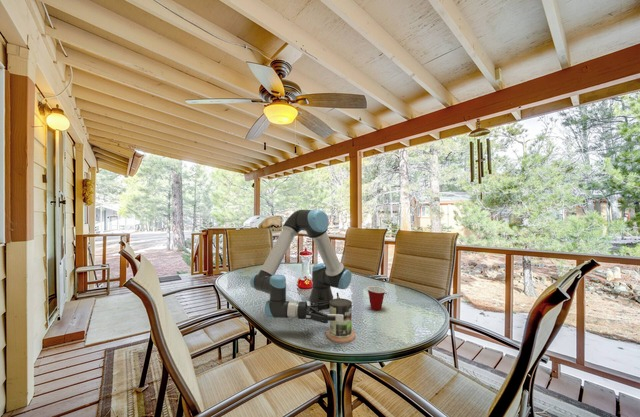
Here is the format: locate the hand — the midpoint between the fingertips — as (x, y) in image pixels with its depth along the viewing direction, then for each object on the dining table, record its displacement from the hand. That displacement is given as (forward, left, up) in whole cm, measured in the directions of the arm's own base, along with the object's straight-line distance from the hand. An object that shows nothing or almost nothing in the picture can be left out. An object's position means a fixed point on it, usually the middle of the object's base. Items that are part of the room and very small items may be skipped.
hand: (343, 312), depth 119 cm
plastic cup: (-9, +38, -11) cm, 41 cm away
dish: (-1, -1, -11) cm, 11 cm away
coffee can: (-1, -1, -10) cm, 10 cm away
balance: (-17, +14, -11) cm, 25 cm away
